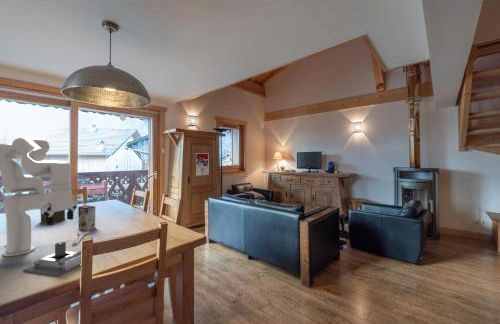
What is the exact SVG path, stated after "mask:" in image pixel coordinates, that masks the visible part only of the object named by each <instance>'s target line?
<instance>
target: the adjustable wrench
mask: <svg viewBox="0 0 500 324" xmlns="http://www.w3.org/2000/svg"><path fill="white" fill-rule="evenodd" d="M89 234H91V231H90V230H86V231H85V232H83V231H79V232H78V233H77V234H76V236H77V238H76V239H75V240H74V241H73V242H72V244H71V246H72V247H75V246H78V245H79V243H80V242H82V240H83V238H84V237H85V236H87V235H89Z"/></svg>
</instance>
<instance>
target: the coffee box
mask: <svg viewBox="0 0 500 324" xmlns="http://www.w3.org/2000/svg"><path fill="white" fill-rule="evenodd" d="M77 208H78V229H79V230H85V231H90V230H92V229H95V228H96V206H94V205H81V206H78V207H77Z"/></svg>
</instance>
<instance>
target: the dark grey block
mask: <svg viewBox="0 0 500 324" xmlns="http://www.w3.org/2000/svg"><path fill="white" fill-rule="evenodd" d="M66 244H67V243H66V242H65V241H60V242H56V243H55V244H54V253H55V259H61V258H63V257H65V256H66V251H67V249H66V248H67V245H66Z"/></svg>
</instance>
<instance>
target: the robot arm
mask: <svg viewBox="0 0 500 324" xmlns="http://www.w3.org/2000/svg"><path fill="white" fill-rule="evenodd" d="M49 151H50V143H49V142H48V141H47V140H46V139H45V138H39V137H27V136H26V137H24V136H23V137H16V139H14V140H13V141H12V143H8V142H7V143H6V142H4V143H0V178H1V180H2V181H1V182H2V185H3V186H2V187H3V189H4V191H5V192H6V193H9V194H12V195H10V196H8V197H6V198H5V199H4V200H3V202H2V203H3V205H2V206H3V210H4V213H5V223H6V224H5V226H6V228H5V229H6V244H5V245H4V246H3V248H5V249H6V250H4V251H3V252H2V256H3V257H18V256H21V255H25V254H28V253H31V252H32V251H34V250H36V245H32V219H31V216H30V215H29V214H28V213H26V212H28V211H33V210H39V211H40V214H41V213H42V214H43V215H44V216H45V217H46V223H45V224H46V225H47V226H53V225H54V222H53V217H52V215H53V214H54V212H58V211H62V210H65V211H66V210H67V212H66V219H67V220H74V212H75V211H76V208H78V207H77V206H78V205H79V201H77V200H74V197H73V195H74V194H73V192H72V189H71V187H72V186H73V183H71V164H70V163H69V162H67V161H60V160H44V159H45V158H46V155H47V154H46V153H48V152H49ZM18 159H19V160H20V164H19V163H18V162H16V161H15V160H18ZM23 171H24V172H25V173H26V174H24V172H23ZM43 177H49V187H50V189H49V190H48V192H47V194H46V190H45V185H44V181H43V179H42V178H43ZM28 192H30V193H28ZM18 193H21V194H18ZM13 194H14V195H13ZM46 211H47V212H46ZM50 212H51V213H50Z"/></svg>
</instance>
